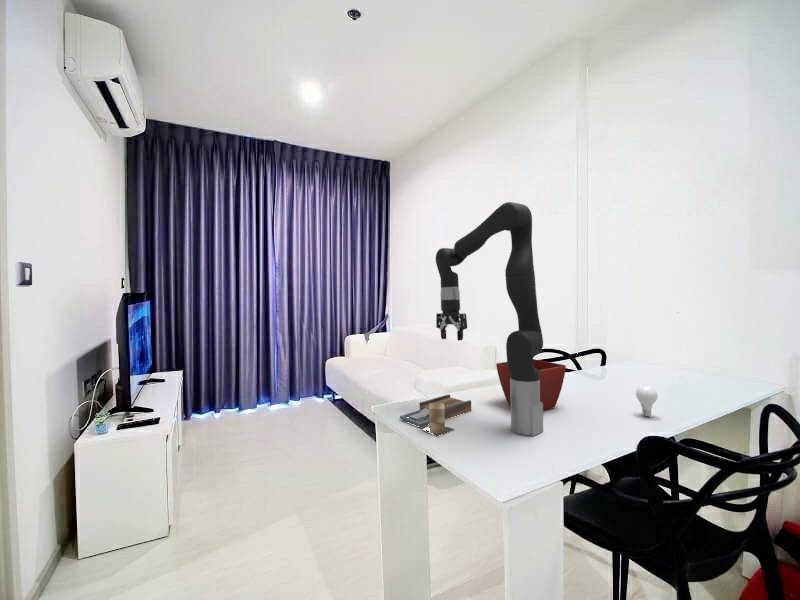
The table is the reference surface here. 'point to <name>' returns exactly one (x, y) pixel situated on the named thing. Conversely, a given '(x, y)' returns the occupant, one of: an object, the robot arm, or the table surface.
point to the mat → (445, 431)
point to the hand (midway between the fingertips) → (451, 339)
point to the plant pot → (548, 381)
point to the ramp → (449, 405)
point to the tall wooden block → (437, 418)
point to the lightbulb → (646, 399)
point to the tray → (420, 424)
